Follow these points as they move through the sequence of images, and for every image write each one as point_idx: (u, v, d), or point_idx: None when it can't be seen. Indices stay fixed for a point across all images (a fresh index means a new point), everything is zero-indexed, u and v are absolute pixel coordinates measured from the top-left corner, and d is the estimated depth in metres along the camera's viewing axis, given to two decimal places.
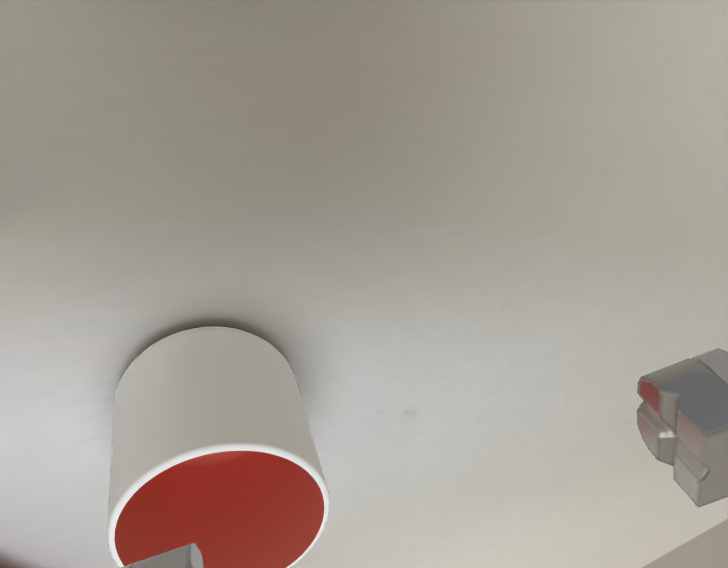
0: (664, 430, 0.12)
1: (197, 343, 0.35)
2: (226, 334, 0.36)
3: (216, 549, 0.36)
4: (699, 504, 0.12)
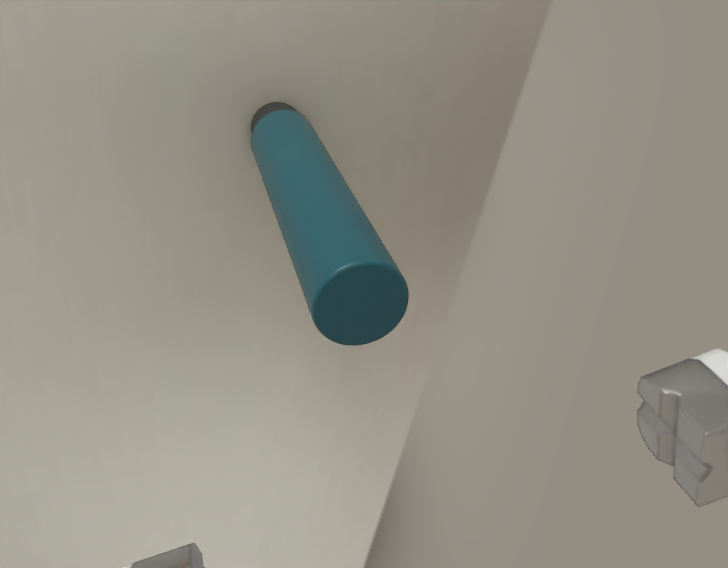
0: (664, 430, 0.12)
1: None
2: None
3: None
4: (699, 504, 0.12)
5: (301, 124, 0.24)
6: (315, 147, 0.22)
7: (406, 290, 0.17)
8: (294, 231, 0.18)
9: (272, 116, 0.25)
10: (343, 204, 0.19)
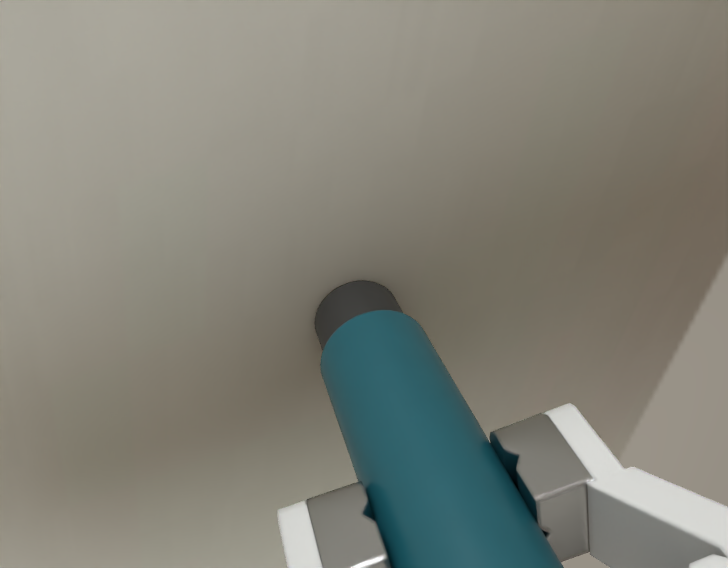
0: None
1: None
2: None
3: None
4: None
5: (420, 354, 0.13)
6: (467, 436, 0.11)
7: None
8: None
9: (362, 329, 0.14)
10: None
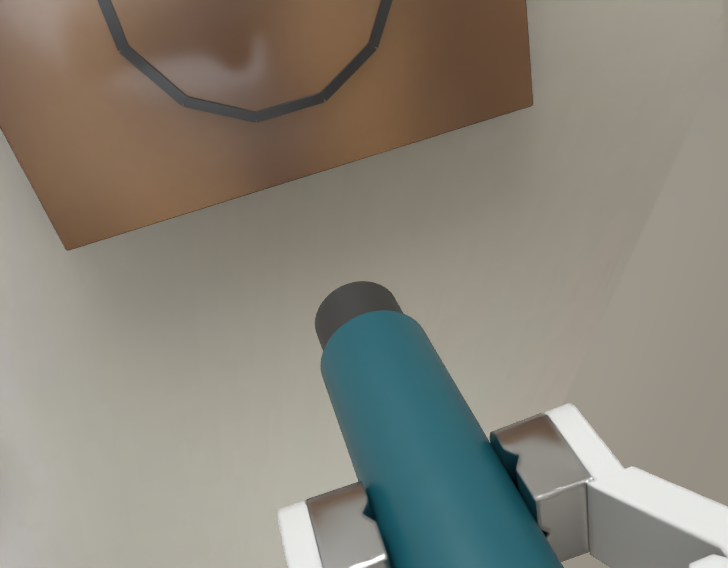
0: None
1: None
2: None
3: None
4: None
5: (420, 354, 0.13)
6: (467, 436, 0.11)
7: None
8: None
9: (362, 330, 0.14)
10: None
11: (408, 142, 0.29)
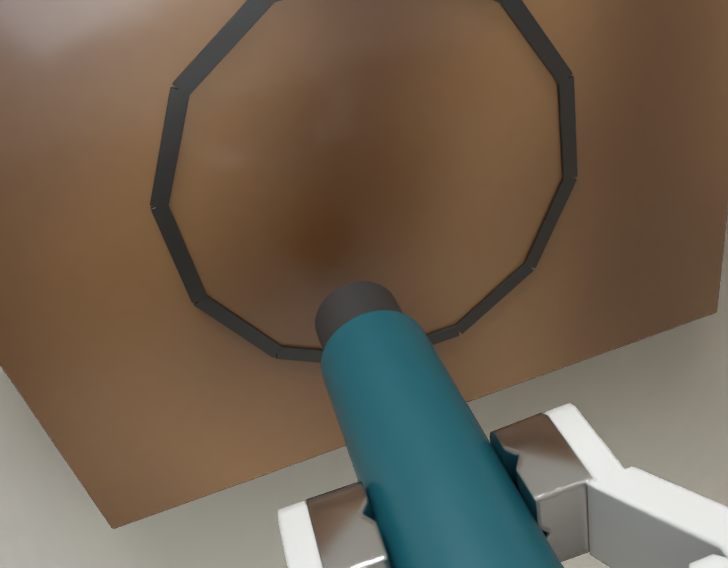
0: None
1: None
2: None
3: None
4: None
5: (420, 354, 0.13)
6: (467, 436, 0.11)
7: None
8: None
9: (362, 329, 0.14)
10: None
11: (558, 367, 0.22)
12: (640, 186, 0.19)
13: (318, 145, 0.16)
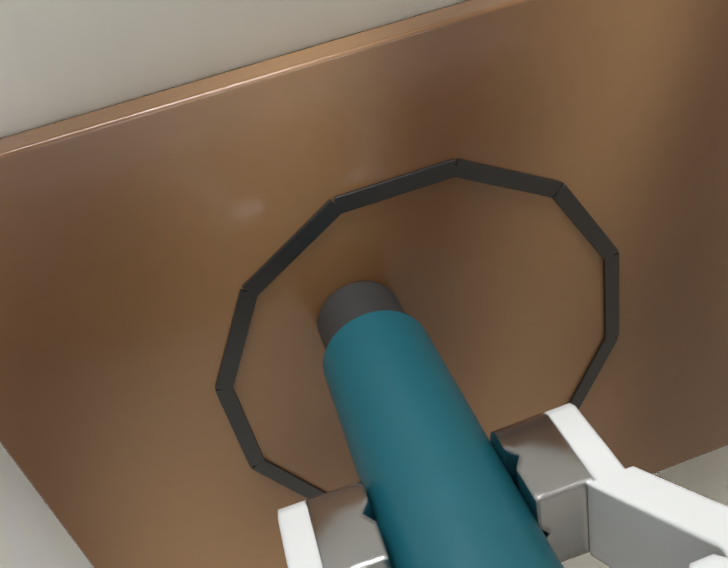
0: None
1: None
2: None
3: None
4: None
5: (422, 354, 0.13)
6: (468, 437, 0.11)
7: None
8: None
9: (365, 329, 0.14)
10: None
11: None
12: (677, 338, 0.20)
13: None
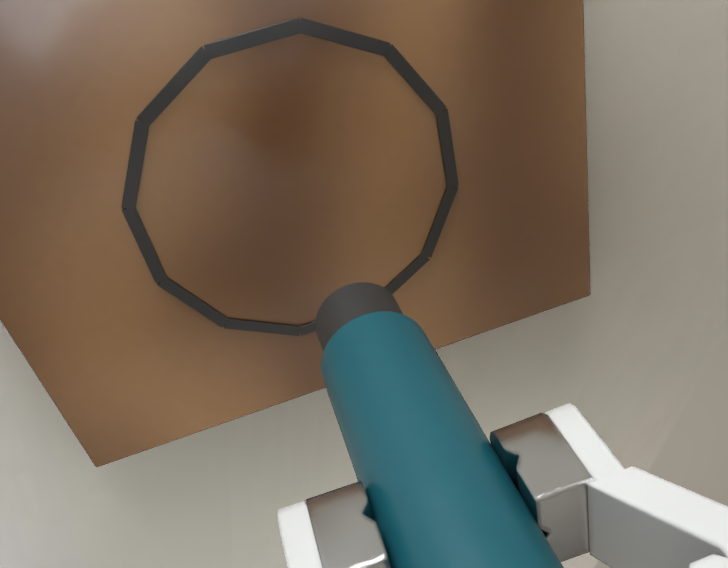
0: None
1: None
2: None
3: None
4: None
5: (420, 355, 0.13)
6: (467, 437, 0.11)
7: None
8: None
9: (363, 330, 0.14)
10: None
11: (459, 339, 0.27)
12: (512, 193, 0.24)
13: (249, 162, 0.21)
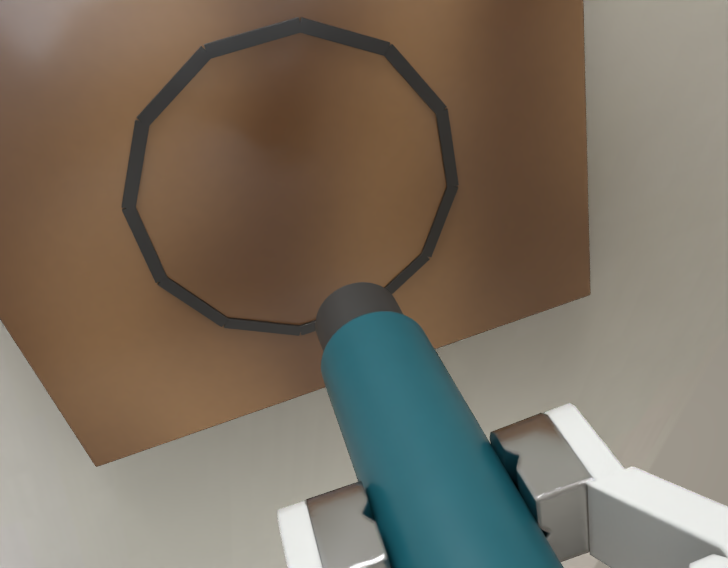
0: None
1: None
2: None
3: None
4: None
5: (420, 355, 0.13)
6: (467, 437, 0.11)
7: None
8: None
9: (363, 330, 0.14)
10: None
11: (459, 339, 0.27)
12: (512, 193, 0.24)
13: (249, 162, 0.21)
